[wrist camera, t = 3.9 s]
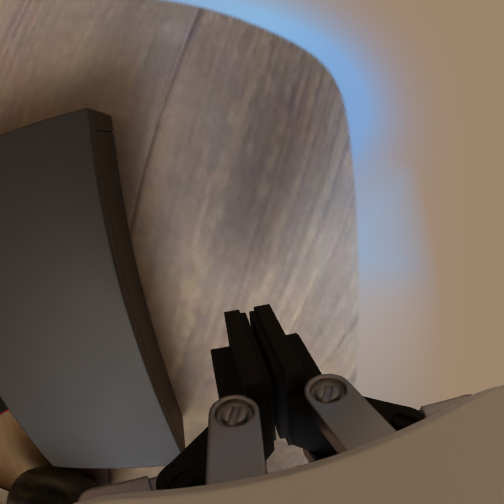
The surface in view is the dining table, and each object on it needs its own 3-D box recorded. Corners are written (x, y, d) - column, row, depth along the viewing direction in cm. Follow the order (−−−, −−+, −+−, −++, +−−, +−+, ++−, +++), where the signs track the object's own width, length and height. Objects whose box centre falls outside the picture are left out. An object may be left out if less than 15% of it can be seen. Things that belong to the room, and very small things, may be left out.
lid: (-39, 163, 11) (-83, 174, 7) (111, 114, 12) (88, 107, 9) (62, 426, 17) (53, 466, 14) (182, 418, 19) (187, 463, 15)
